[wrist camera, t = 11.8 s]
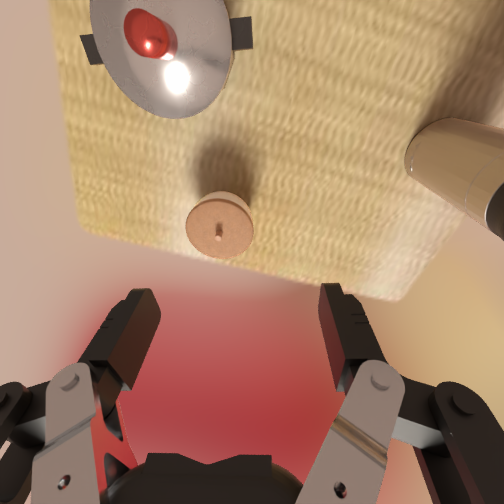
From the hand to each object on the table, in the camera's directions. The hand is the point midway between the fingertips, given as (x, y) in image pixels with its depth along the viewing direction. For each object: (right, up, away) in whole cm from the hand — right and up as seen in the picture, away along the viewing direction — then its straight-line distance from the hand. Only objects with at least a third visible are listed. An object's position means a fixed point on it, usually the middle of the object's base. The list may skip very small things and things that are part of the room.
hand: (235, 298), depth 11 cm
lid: (-8, +24, +14) cm, 29 cm away
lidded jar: (-4, +10, +33) cm, 35 cm away
